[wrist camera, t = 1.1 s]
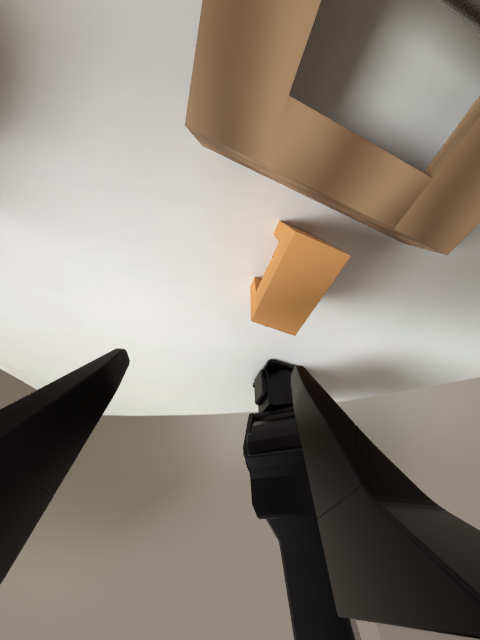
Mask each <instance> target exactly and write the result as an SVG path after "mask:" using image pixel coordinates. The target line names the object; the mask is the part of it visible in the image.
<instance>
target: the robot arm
mask: <svg viewBox="0 0 480 640" xmlns="http://www.w3.org/2000/svg"><path fill="white" fill-rule="evenodd" d="M129 362H130V360H129V357H128V354H127V351H126V350H125V349H115V350H113V351H111V352H109V353H107V354H105V355H103V356H101V357H99V358H98V359H96V360H94V361H92V362H90V363H88V364H86V365H84V366H82V367H80V368H79V369H77V370H75V371H73V372H71V373H69V374H67V375H65V376H63V377H61V378H59V379H58V380H56V381H54V382H52V383H50V384H48V385H46V386H44V387H42V388H40V389H38V390H37V391H35V392H33V393H31V394H30V395H27V396H25V397H23V398H22V399H19V400H18V401H16V402H14V403H12V404H10V405H8V406H6V407H4V408H2V409H0V584H1V582H2V581H3V579H4V578H5V576H6V574H7V573H8V571H9V570H10V568H11V566H12V564H13V563H14V561H15V560H16V558H17V556H18V555H19V553H20V551H21V550H22V548H23V546H24V545H25V543H26V541H27V540H28V538H29V536H30V535H31V533H32V531H33V530H34V528H35V526H36V524H37V523H38V521H39V520H40V518H41V516H42V515H43V513H44V511H45V510H46V508H47V506H48V504H49V503H50V501H51V500H52V498H53V495H54V494H55V493H56V491H57V489H58V488H59V486H60V484H61V483H62V481H63V479H64V478H65V476H66V474H67V473H68V471H69V469H70V468H71V466H72V464H73V463H74V461H75V459H76V458H77V456H78V454H79V453H80V451H81V449H82V448H83V446H84V444H85V443H86V441H87V439H88V437H89V436H90V434H91V433H92V431H93V429H94V428H95V426H96V424H97V423H98V421H99V419H100V418H101V416H102V414H103V413H104V411H105V409H106V408H107V406H108V404H109V403H110V401H111V399H112V398H113V396H114V394H115V393H116V391H117V389H118V387H119V385H120V383H121V381H122V378H123V376H124V374H125V372H126V370H127V368H128V366H129ZM253 387H254V388H255V403H256V404H257V405H258V409H259V413H255V414H254V413H251V414H249V418H248V422H247V429H246V434H245V440H244V445H243V450H244V452H243V453H244V457H245V461H246V465H247V468H248V470H249V472H250V478H251V493H252V505H253V507H254V510H255V512H256V514H257V517H258V518H259V519H266V520H267V522H268V523H269V525H270V527H271V528H272V530H273V532H274V533H275V535H276V537H277V539H278V541H279V544H280V550H281V556H282V563H283V569H284V576H285V582H286V588H287V595H288V602H289V608H290V614H291V621H292V627H293V634H294V640H361V638H360V634H359V631H358V627H357V623H356V620H362V621H368V622H375V623H377V626H378V630H379V633H380V636H381V640H480V530H478V529H476V528H475V527H473V526H471V525H469V524H468V523H466V522H464V521H463V520H461V519H459V518H458V517H456V516H454V515H452V514H451V513H449V512H448V511H446V510H445V509H443V508H442V507H440V506H439V505H438V504H436V503H435V502H434V501H432V500H431V499H430V498H429V497H428V496H427V495H425V494H424V493H423V492H422V491H421V490H420V489H419V488H418V487H417V486H416V485H415V484H414V483H413V482H412V481H411V480H410V479H409V478H408V477H407V476H406V475H405V474H404V473H402V471H401V470H400V469H399V468H397V467H396V466H395V465H394V464H393V463H392V462H391V461H390V460H389V459H388V458H387V457H386V456H385V455H384V454H383V453H382V452H381V451H380V450H379V449H378V448H377V447H376V446H375V445H374V444H373V443H372V442H371V441H370V440H369V438H368V437H367V436H366V435H365V434H364V433H363V432H362V431H361V430H360V429H359V427H358V426H357V425H355V423H354V422H353V421H352V420H351V419H350V418H349V417H348V415H347V414H346V413H345V412H344V411H343V410H342V409H341V408H340V407H339V405H338V404H337V403H336V402H335V401H334V400H333V399H332V398H331V397H330V395H329V394H328V393H327V392H326V391H325V390H324V389H323V388H322V387H321V385H320V384H319V383H318V382H317V381H316V380H315V379H314V378H313V377H312V376H311V374H310V373H309V372H308V371H307V370H306V369H305V368H304V367H303V366H297V365H296V366H295V367H294V366H291V365H288V364H284V363H281V362H278V361H275V360H268V362H267V363H266V365H265V366H264V368H263V369H262V370H260V372H259V374H258V375H257V377H256V378H255V380H254V383H253ZM355 619H356V620H355Z"/></svg>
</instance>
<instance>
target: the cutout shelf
mask: <svg viewBox="0 0 480 640" xmlns="http://www.w3.org/2000/svg"><path fill="white" fill-rule="evenodd" d="M439 1H440V2H441V3H442V4H444V5H445V6H446V7H447V8H449V9H450V10H451V11H452V12H454V13H455V14H456V15H458V16H459V17H460V18H461V19H463V20H464V21H465V22H466V23H468V24H469V25H470V26H472V27H473V28H474V29H475V30H477V31H478V32H479V33H480V0H439ZM320 3H321V0H203V2H202V9H201V16H200V23H199V30H198V37H197V44H196V51H195V58H194V65H193V72H192V79H191V87H190V94H189V101H188V108H187V115H186V122H185V126H186V127H187V128H188V129H189V131H190V132H191V133H192V134H193V135H194V137H195V138H196V139H197V140H198V141H199V142H200V144H201V145H202V146H204V147H206V148H208V149H210V150H212V151H215V152H217V153H219V154H221V155H223V156H225V157H227V158H229V159H231V160H233V161H235V162H237V163H239V164H241V165H243V166H245V167H248V168H250V169H252V170H254V171H256V172H258V173H260V174H262V175H264V176H266V177H268V178H270V179H272V180H274V181H276V182H278V183H281V184H283V185H285V186H287V187H289V188H291V189H293V190H295V191H297V192H299V193H301V194H303V195H305V196H307V197H309V198H312V199H314V200H316V201H318V202H320V203H322V204H324V205H326V206H328V207H330V208H332V209H334V210H336V211H338V212H340V213H342V214H345V215H347V216H349V217H351V218H353V219H355V220H357V221H359V222H361V223H363V224H365V225H367V226H369V227H371V228H373V229H376V230H378V231H380V232H382V233H384V234H386V235H388V236H390V237H392V238H394V239H396V240H398V241H400V242H402V243H405V244H408V245H412V246H416V247H419V248H423V249H427V250H430V251H434V252H438V253H441V254H445V255H448V254H449V253H450V252H451V251H452V250H453V249H454V248H455V247H456V246H457V245H458V244H459V243H460V242H461V241H462V240H463V239H464V238H465V237H466V236H467V235H468V234H469V233H470V232H471V231H472V230H473V229H474V228H475V227H476V226H477V225H478V224H479V223H480V96H479V98H478V99H477V100H476V102H475V103H474V104H473V106H472V107H471V109H470V110H469V111H468V113H467V114H466V115H465V117H464V118H463V119H462V121H461V122H460V123H459V125H458V126H457V128H456V129H455V130H454V132H453V133H452V134H451V136H450V137H449V138H448V140H447V141H446V143H445V144H444V145H443V147H442V148H441V149H440V151H439V152H438V153H437V155H436V156H435V157H434V159H433V160H432V162H431V163H430V164H429V166H428V167H427V168H426V170H425V171H424V172H421V171H419V170H417V169H416V168H414V167H412V166H411V165H409V164H407V163H405V162H404V161H402V160H400V159H398V158H397V157H395V156H393V155H391V154H390V153H388V152H386V151H384V150H383V149H381V148H379V147H378V146H376V145H374V144H372V143H371V142H369V141H367V140H365V139H364V138H362V137H360V136H358V135H357V134H355V133H353V132H351V131H350V130H348V129H346V128H345V127H343V126H341V125H339V124H338V123H336V122H334V121H332V120H331V119H329V118H327V117H325V116H324V115H322V114H320V113H319V112H317V111H315V110H313V109H312V108H310V107H308V106H306V105H305V104H303V103H301V102H299V101H298V100H296V99H294V98H292V97H291V96H289V93H290V90H291V87H292V84H293V81H294V78H295V75H296V72H297V70H298V67H299V64H300V61H301V58H302V55H303V52H304V49H305V46H306V43H307V41H308V38H309V35H310V32H311V29H312V26H313V23H314V20H315V17H316V14H317V11H318V9H319V6H320Z"/></svg>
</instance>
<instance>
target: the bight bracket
mask: <svg viewBox="0 0 480 640" xmlns="http://www.w3.org/2000/svg"><path fill="white" fill-rule="evenodd" d="M274 235H275V237H276V238H277V239H278V241H279V244H278V246H277V248H276V250H275V252H274V254H273V257H272V259H271V261H270V263H269V265H268V267H267V269H266V272H265V274H264V276H263V278H262V280H261V279H258V278H256V277H255V278H254V280H253V282H252V284H251V321H253V322H256V323H259V324H262V325H265V326H268V327H271V328H274V329H277V330H279V331H282V332H285V333H288V334H291V335H294V336H295V335H296V334H297V332H298V331H299V329H300V328H301V327H302V325H303V324H304V322H305V321H306V319H307V318H308V317H309V315H310V314H311V312H312V311H313V309H314V308H315V307H316V305H317V304H318V302H319V301H320V299H321V298H322V297H323V295H324V294H325V292H326V291H327V290H328V288H329V287H330V285H331V284H332V282H333V281H334V280H335V278H336V277H337V275H338V274H339V272H340V271H341V270H342V268H343V267H344V265H345V264H346V262H347V261H348V260H349V258H350V257H351V256H350V255H349V254H347V253H345V252H343V251H341V250H339V249H337V248H335V247H334V246H332V245H330V244H328V243H326V242H324V241H322V240H321V239H319V238H317V237H315V236H312V235H310V234H308V233H306V232H303V231H301V230H299V229H297V228H294V227H292V226H290V225H288V224H286V223H283V222H281V221H279V223H278V225H277V227H276V230H275V232H274Z"/></svg>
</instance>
